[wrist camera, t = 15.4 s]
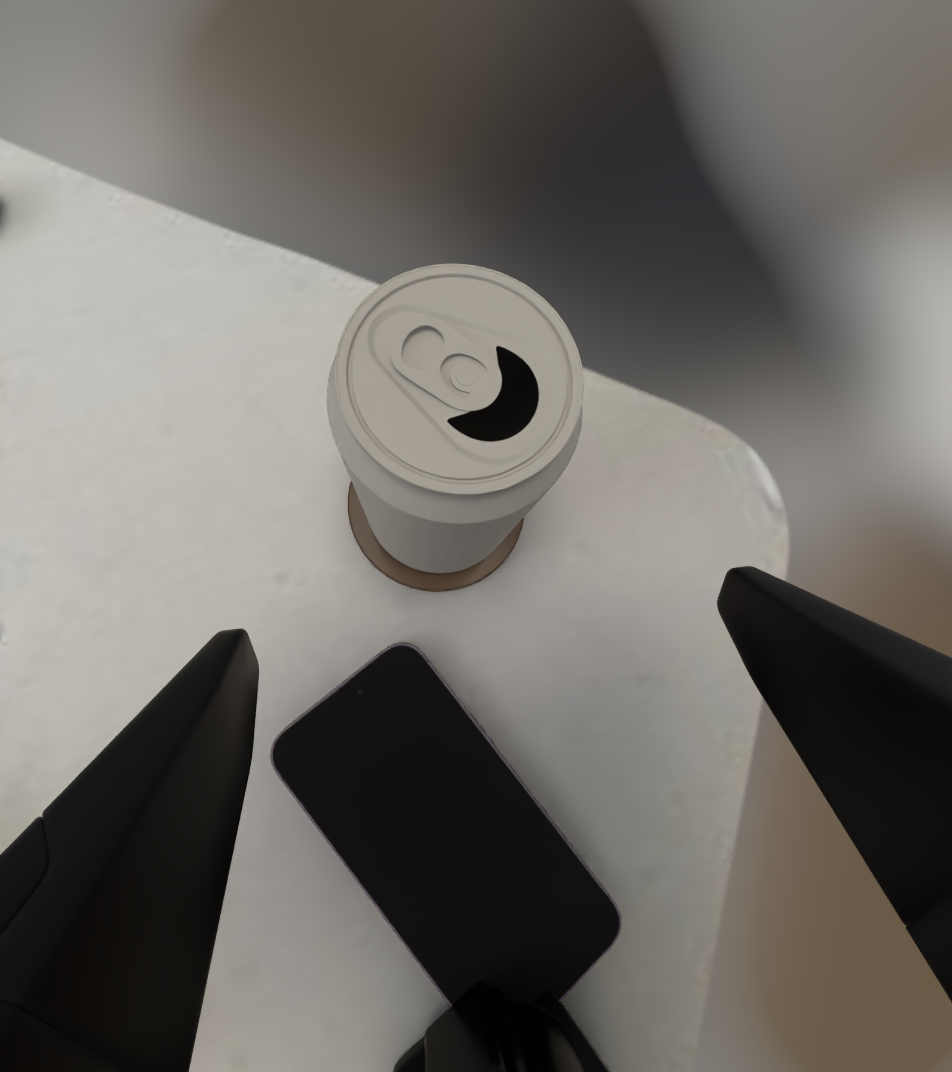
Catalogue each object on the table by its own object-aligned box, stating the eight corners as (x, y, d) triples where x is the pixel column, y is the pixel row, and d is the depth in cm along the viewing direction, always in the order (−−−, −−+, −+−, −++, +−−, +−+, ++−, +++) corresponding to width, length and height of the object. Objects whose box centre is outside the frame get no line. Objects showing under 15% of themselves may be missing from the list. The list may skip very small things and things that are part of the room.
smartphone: (495, 1071, 19) (256, 750, 20) (490, 1046, 20) (264, 744, 21) (633, 924, 21) (407, 631, 21) (622, 909, 22) (407, 630, 22)
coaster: (555, 526, 24) (559, 523, 24) (416, 627, 23) (416, 627, 22) (456, 394, 25) (457, 388, 24) (314, 483, 23) (311, 479, 23)
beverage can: (463, 602, 22) (516, 567, 11) (337, 526, 22) (254, 406, 11) (533, 485, 24) (649, 339, 12) (415, 412, 24) (418, 198, 12)
